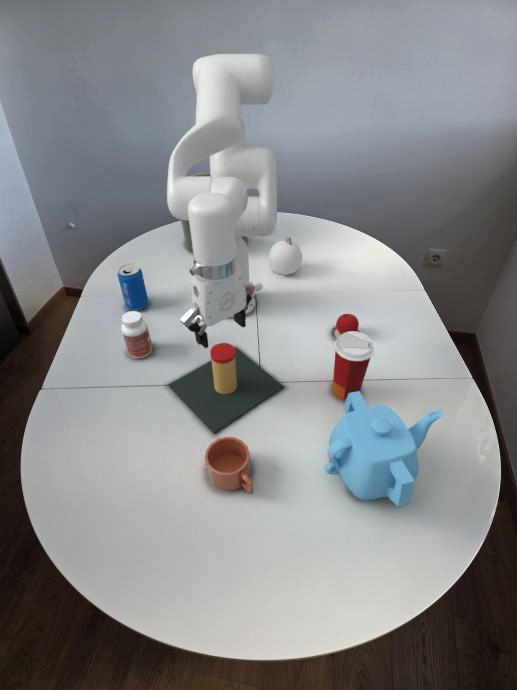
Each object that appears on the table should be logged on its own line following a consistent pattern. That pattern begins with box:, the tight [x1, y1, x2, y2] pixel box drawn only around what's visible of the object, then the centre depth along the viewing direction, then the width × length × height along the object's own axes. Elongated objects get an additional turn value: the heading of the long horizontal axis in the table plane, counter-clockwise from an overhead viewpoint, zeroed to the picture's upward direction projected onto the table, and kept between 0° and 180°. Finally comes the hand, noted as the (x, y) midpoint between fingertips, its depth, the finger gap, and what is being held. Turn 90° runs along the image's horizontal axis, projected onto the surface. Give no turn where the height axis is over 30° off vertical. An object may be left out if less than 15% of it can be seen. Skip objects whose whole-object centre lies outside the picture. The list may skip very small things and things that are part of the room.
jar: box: [209, 342, 237, 394], centre depth 96 cm, size 5×5×11 cm
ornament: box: [267, 236, 303, 276], centre depth 132 cm, size 10×10×12 cm
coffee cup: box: [332, 331, 375, 401], centre depth 94 cm, size 8×8×15 cm
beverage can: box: [117, 263, 149, 311], centre depth 120 cm, size 6×6×12 cm
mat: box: [167, 346, 285, 435], centre depth 100 cm, size 20×18×1 cm
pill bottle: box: [120, 310, 153, 359], centre depth 105 cm, size 6×6×11 cm
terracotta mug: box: [204, 436, 254, 495], centre depth 81 cm, size 11×8×6 cm
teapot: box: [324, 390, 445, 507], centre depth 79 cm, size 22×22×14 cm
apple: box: [329, 313, 362, 341], centre depth 111 cm, size 8×8×6 cm
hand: (221, 333), depth 90 cm, fingers open, 9 cm apart
